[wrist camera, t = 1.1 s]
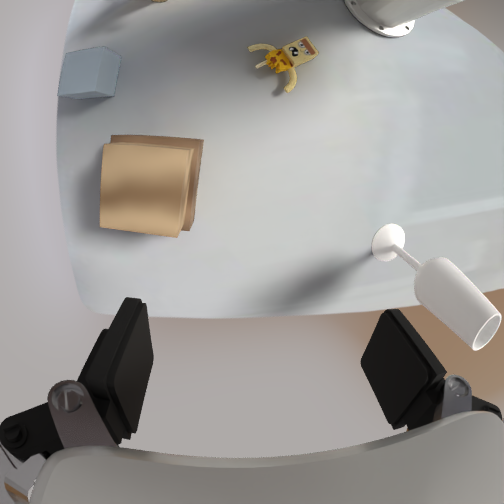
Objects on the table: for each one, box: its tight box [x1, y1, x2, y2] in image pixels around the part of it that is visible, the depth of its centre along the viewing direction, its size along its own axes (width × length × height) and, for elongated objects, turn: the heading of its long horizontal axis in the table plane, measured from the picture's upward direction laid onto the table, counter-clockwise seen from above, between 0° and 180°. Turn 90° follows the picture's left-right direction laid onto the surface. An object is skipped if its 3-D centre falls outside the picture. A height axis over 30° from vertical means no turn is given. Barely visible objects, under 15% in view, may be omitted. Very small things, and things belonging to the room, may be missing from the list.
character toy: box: [247, 36, 319, 93], centre depth 27 cm, size 8×3×8 cm
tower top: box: [100, 142, 194, 238], centre depth 27 cm, size 9×9×5 cm
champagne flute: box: [372, 224, 501, 350], centre depth 29 cm, size 7×7×24 cm
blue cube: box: [57, 46, 122, 99], centre depth 24 cm, size 6×6×6 cm
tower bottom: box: [111, 135, 204, 231], centre depth 32 cm, size 11×11×5 cm
